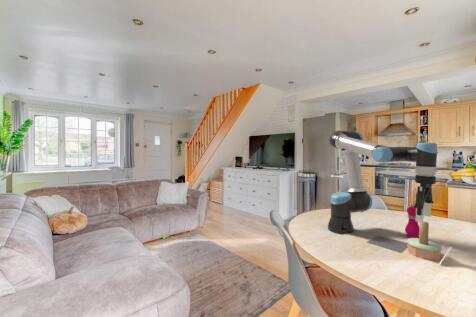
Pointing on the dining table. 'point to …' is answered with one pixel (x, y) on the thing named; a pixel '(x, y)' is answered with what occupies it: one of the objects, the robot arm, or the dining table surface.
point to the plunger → (424, 239)
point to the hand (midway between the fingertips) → (423, 218)
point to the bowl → (424, 253)
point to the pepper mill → (412, 223)
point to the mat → (388, 243)
